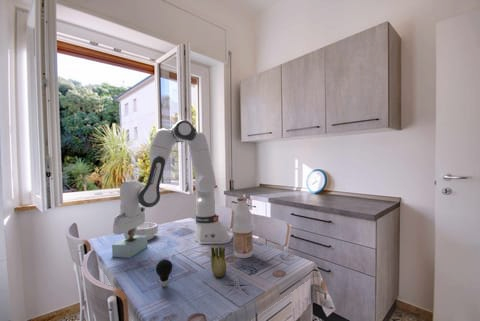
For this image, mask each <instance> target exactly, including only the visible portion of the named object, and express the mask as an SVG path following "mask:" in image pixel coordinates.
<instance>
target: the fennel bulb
mask: <svg viewBox="0 0 480 321" xmlns="http://www.w3.org/2000/svg"><path fill="white" fill-rule="evenodd" d="M210 253H211V258H210V260H211V262H210V263H211V264H210V265H211V271H212V273H213V275H214V277H215V278H223V277H224V276H225V275H227V274H226V273H227V261H226V256H225V255H226V246H222V245H218V246H211V247H210Z"/></svg>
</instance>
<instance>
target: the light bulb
mask: <svg viewBox="0 0 480 321" xmlns="http://www.w3.org/2000/svg"><path fill="white" fill-rule="evenodd" d="M172 271H173V264H172V261H170V260H169V259H165V258H164V259H161V260H159V262H158V263H157V264H156V267H155V272H156V274H157V275H158V276H159V279H160V286H161V287H164V288H166V287H167V286H169V279H170V278H169V277H170V274H171V273H172Z"/></svg>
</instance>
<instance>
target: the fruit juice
mask: <svg viewBox="0 0 480 321" xmlns="http://www.w3.org/2000/svg"><path fill="white" fill-rule="evenodd" d="M236 201H237V204H236V208H235V210H234V212H233V218H232V219H233V226H232V228H233V229H232V230H233V232H232V233H233V234H232V239H233V255H234V257H236V258H237V259H247V258H250V257H252V256H253V253H254V249H253V245H254V244H253V239H254V238H253V224H252V217H253V216H252V212H251V211H250V208H249V205H248V197H246V196H245V197H244V196H240V197H237V199H236Z"/></svg>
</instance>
